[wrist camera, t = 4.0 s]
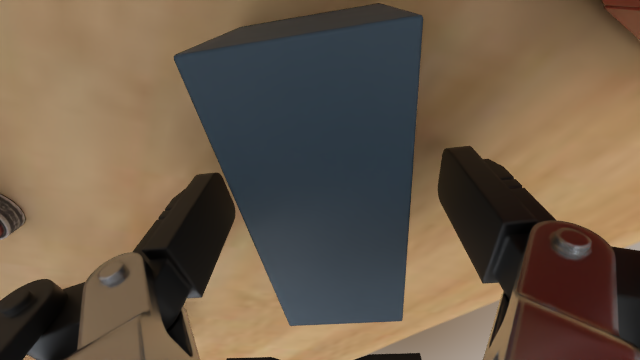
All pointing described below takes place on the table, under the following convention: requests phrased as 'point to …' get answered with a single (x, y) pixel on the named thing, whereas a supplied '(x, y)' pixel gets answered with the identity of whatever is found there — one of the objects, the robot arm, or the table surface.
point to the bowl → (625, 13)
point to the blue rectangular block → (318, 152)
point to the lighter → (9, 217)
